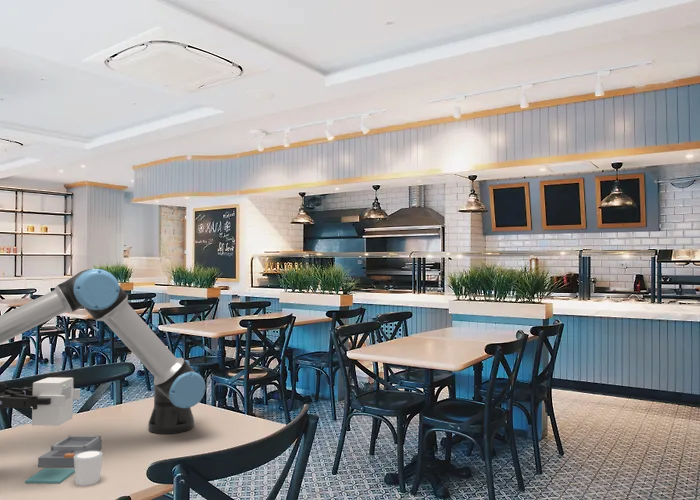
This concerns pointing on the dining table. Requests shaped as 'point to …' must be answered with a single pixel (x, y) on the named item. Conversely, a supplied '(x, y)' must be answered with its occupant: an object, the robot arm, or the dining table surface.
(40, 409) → the block
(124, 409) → the dining table surface
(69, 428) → the dining table surface
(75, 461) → the white cup
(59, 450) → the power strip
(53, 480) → the mat
